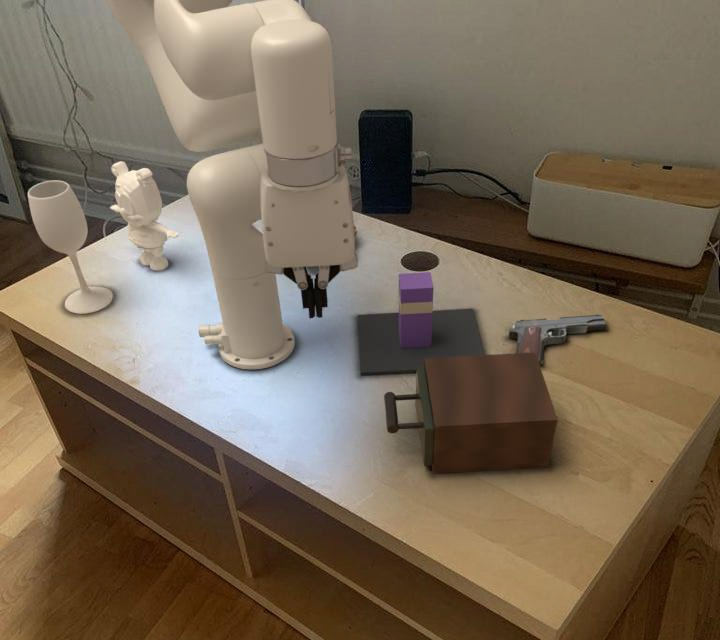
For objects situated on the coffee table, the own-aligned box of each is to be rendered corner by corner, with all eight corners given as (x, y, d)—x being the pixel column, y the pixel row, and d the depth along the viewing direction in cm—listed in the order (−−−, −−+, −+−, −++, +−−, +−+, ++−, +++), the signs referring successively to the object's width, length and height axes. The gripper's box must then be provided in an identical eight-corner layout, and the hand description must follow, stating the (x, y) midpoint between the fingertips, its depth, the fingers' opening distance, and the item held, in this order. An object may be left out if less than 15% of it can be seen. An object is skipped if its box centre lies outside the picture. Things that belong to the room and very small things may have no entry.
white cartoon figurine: (171, 289, 134) (144, 187, 120) (107, 255, 143) (75, 157, 129) (202, 271, 138) (179, 171, 124) (138, 240, 147) (110, 143, 133)
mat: (360, 375, 114) (360, 372, 114) (357, 317, 125) (357, 314, 125) (486, 368, 114) (487, 365, 114) (472, 311, 125) (472, 308, 125)
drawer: (388, 467, 99) (388, 431, 94) (383, 405, 108) (382, 368, 103) (530, 460, 99) (537, 423, 94) (513, 398, 108) (518, 361, 103)
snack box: (400, 348, 118) (400, 289, 110) (398, 332, 121) (398, 273, 113) (431, 346, 118) (433, 287, 110) (428, 330, 121) (430, 271, 113)
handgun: (514, 369, 114) (515, 359, 112) (499, 328, 121) (500, 319, 120) (622, 362, 114) (625, 352, 113) (600, 322, 122) (603, 313, 121)
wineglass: (55, 309, 131) (9, 197, 116) (84, 284, 136) (44, 174, 121) (94, 318, 128) (52, 204, 113) (122, 292, 134) (86, 181, 118)
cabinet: (432, 473, 99) (435, 426, 93) (422, 405, 109) (424, 358, 102) (547, 467, 99) (557, 419, 93) (527, 399, 109) (535, 352, 102)
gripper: (372, 143, 77) (375, 291, 91) (233, 150, 77) (256, 297, 91) (376, 174, 72) (378, 327, 86) (226, 182, 72) (253, 333, 86)
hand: (316, 311), depth 88 cm, fingers closed
